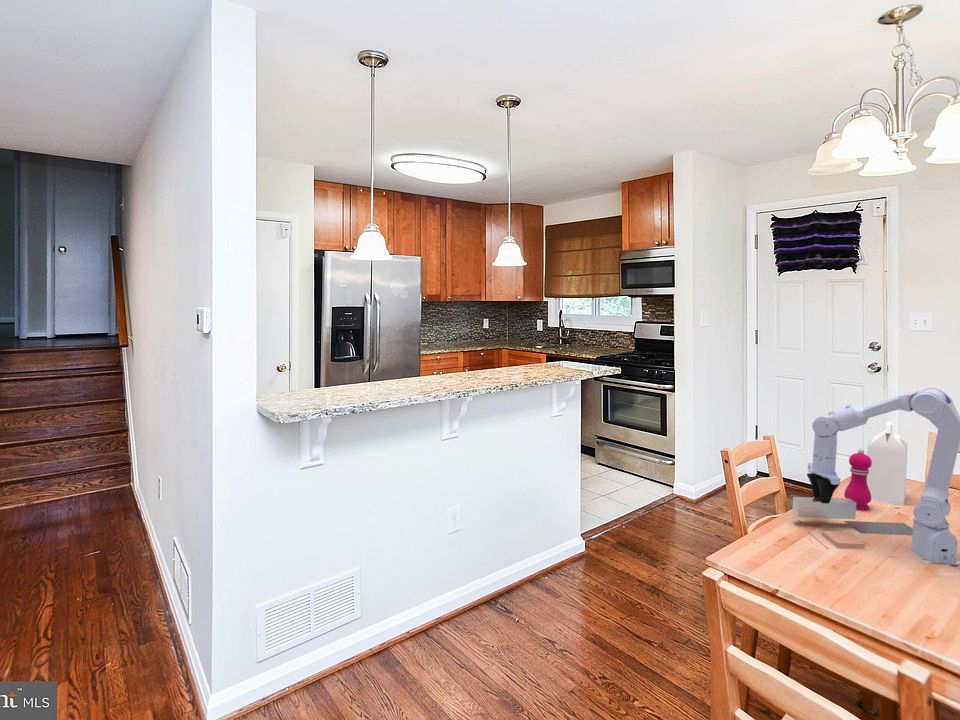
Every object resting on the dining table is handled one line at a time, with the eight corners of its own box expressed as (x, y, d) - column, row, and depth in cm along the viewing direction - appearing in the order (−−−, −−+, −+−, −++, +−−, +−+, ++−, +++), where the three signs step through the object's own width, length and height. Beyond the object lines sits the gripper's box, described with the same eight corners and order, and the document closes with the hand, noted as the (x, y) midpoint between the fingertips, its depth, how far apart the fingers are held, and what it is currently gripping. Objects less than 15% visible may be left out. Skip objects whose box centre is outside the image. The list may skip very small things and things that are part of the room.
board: (924, 538, 157) (924, 535, 157) (860, 535, 159) (860, 533, 159) (903, 525, 166) (903, 523, 166) (843, 523, 168) (843, 520, 168)
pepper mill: (874, 514, 175) (879, 452, 173) (849, 512, 176) (853, 451, 174) (863, 506, 182) (868, 446, 180) (839, 504, 183) (843, 445, 181)
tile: (847, 537, 156) (864, 549, 148) (821, 536, 157) (836, 548, 149) (848, 531, 156) (864, 544, 148) (822, 530, 157) (837, 542, 149)
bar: (855, 519, 162) (856, 502, 162) (797, 517, 164) (798, 501, 163) (848, 514, 166) (849, 498, 165) (792, 513, 167) (793, 497, 167)
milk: (864, 489, 198) (870, 418, 195) (905, 497, 190) (911, 422, 188) (861, 499, 188) (866, 424, 186) (903, 507, 181) (910, 429, 178)
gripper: (798, 448, 170) (795, 491, 172) (822, 462, 156) (819, 509, 157) (822, 449, 170) (819, 492, 171) (849, 463, 155) (845, 509, 157)
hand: (821, 500), depth 164 cm, fingers closed on bar, 3 cm apart
